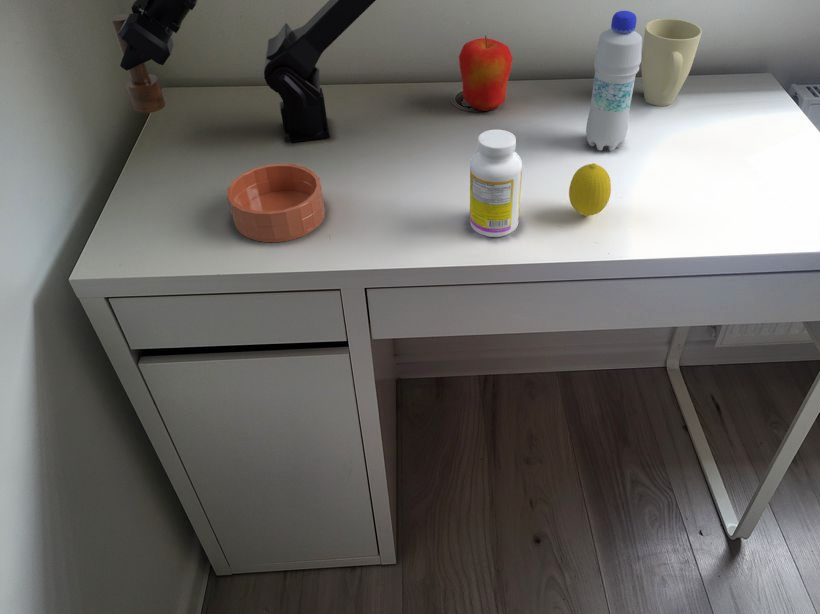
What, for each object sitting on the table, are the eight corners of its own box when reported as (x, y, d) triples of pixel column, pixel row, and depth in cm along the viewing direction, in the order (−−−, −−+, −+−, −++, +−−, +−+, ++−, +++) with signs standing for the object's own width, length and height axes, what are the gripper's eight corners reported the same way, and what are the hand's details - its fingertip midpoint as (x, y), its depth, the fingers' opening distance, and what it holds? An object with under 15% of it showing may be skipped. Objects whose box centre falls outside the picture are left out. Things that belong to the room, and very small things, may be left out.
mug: (617, 98, 123) (629, 27, 115) (657, 83, 128) (671, 14, 119) (665, 123, 117) (681, 50, 109) (705, 106, 121) (723, 35, 113)
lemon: (562, 205, 100) (569, 154, 94) (601, 203, 100) (610, 152, 94) (570, 228, 96) (576, 176, 90) (610, 226, 96) (619, 174, 91)
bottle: (630, 138, 113) (655, 7, 99) (618, 158, 109) (642, 24, 95) (590, 130, 115) (608, 0, 101) (577, 148, 111) (594, 15, 97)
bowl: (320, 186, 103) (315, 158, 100) (329, 235, 94) (325, 206, 91) (233, 197, 101) (226, 169, 97) (235, 248, 92) (227, 219, 89)
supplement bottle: (490, 205, 100) (493, 119, 91) (528, 222, 97) (535, 136, 88) (459, 226, 96) (459, 139, 87) (498, 245, 93) (502, 157, 84)
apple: (454, 114, 119) (453, 42, 110) (465, 92, 125) (466, 22, 116) (504, 120, 117) (507, 48, 109) (513, 97, 123) (517, 27, 115)
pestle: (154, 96, 110) (125, 8, 101) (171, 105, 108) (144, 16, 99) (127, 107, 107) (95, 18, 98) (144, 116, 105) (114, 26, 96)
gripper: (136, -87, 98) (83, 1, 105) (110, -46, 85) (51, 53, 92) (209, -29, 104) (155, 51, 111) (195, 19, 91) (134, 106, 98)
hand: (125, 63), depth 103 cm, fingers closed on pestle, 2 cm apart
